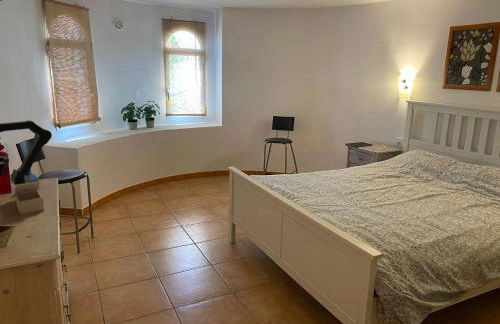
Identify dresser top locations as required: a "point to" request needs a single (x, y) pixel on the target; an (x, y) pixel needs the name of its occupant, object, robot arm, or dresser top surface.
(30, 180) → the perfume bottle
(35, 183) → the carton lid
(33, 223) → the dresser top surface
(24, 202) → the carton
